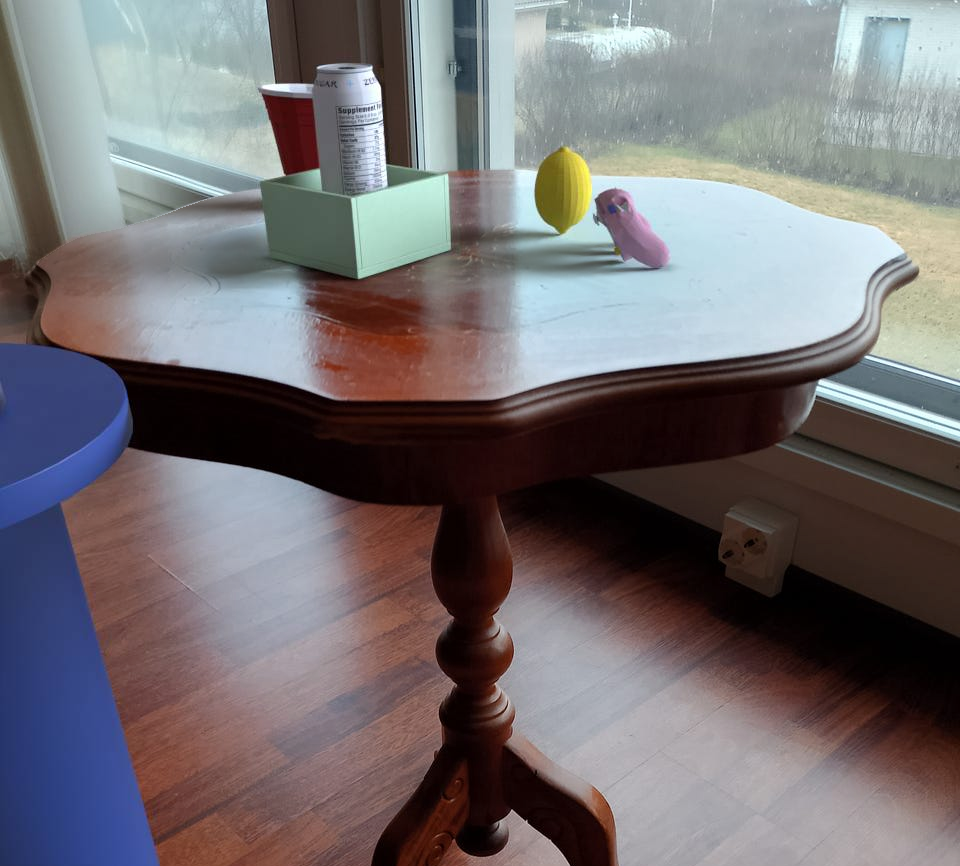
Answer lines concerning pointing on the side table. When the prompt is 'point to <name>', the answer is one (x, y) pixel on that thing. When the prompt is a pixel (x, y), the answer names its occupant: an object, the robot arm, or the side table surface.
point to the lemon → (563, 189)
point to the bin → (357, 222)
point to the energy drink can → (349, 129)
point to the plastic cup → (292, 125)
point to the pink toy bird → (629, 229)
